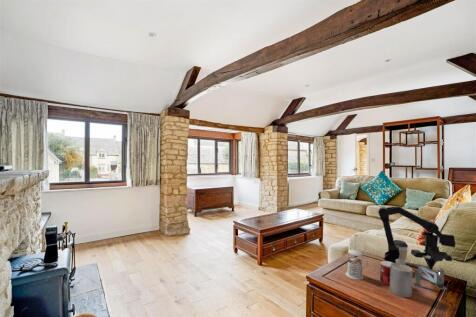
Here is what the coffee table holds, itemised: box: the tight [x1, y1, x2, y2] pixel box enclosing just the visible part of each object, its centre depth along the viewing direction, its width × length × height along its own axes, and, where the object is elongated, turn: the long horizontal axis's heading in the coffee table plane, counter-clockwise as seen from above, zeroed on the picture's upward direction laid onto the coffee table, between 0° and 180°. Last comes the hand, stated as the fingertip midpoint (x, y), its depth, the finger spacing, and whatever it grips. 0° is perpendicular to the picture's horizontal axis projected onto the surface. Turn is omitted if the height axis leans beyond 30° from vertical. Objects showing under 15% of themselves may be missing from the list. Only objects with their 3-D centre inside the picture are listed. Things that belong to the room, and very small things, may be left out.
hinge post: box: [433, 268, 448, 291], centre depth 129 cm, size 4×4×11 cm
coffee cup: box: [394, 239, 409, 265], centre depth 160 cm, size 9×9×15 cm
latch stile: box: [412, 268, 423, 288], centre depth 131 cm, size 4×3×8 cm
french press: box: [345, 233, 369, 280], centre depth 140 cm, size 10×12×25 cm
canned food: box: [379, 260, 392, 287], centre depth 133 cm, size 8×8×11 cm
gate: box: [417, 264, 438, 285], centre depth 137 cm, size 11×1×6 cm, turn 12°
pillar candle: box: [389, 263, 414, 298], centre depth 123 cm, size 10×10×15 cm
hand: (430, 269), depth 139 cm, fingers closed
